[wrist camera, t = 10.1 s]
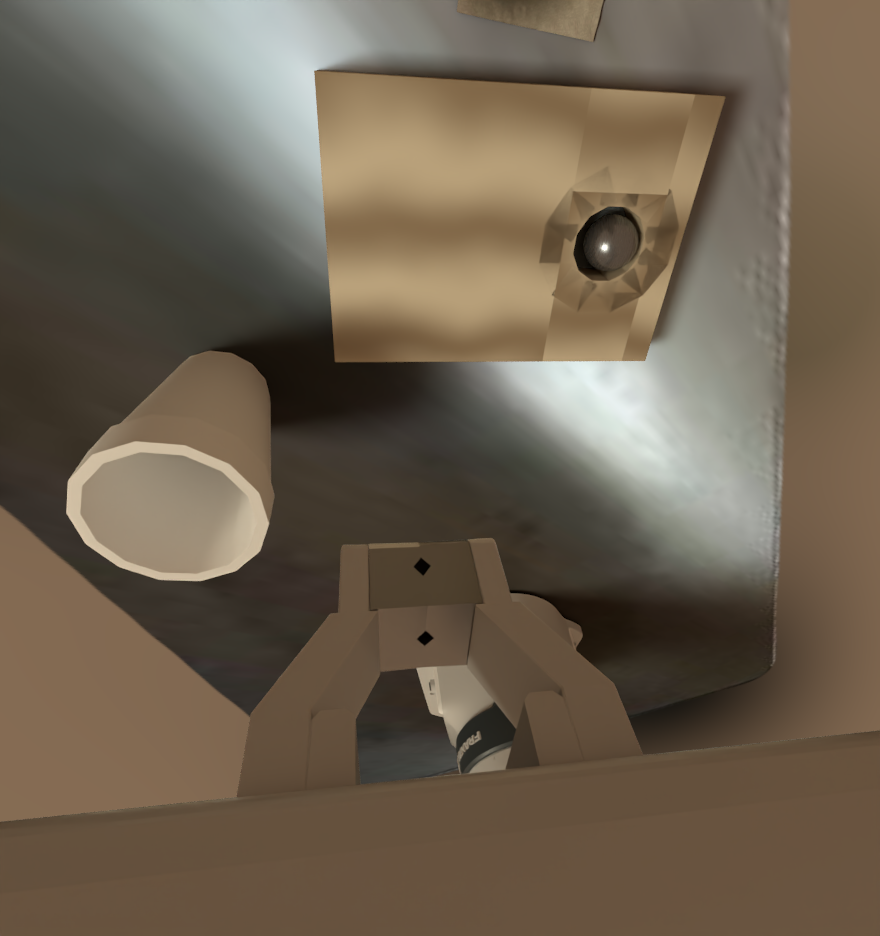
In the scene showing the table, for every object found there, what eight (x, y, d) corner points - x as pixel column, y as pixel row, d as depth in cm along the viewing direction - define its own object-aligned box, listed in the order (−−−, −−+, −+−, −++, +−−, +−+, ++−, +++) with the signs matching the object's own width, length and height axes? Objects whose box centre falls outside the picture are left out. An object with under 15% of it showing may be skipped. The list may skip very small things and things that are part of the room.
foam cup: (157, 441, 39) (85, 577, 29) (139, 320, 34) (42, 434, 24) (291, 452, 41) (269, 583, 31) (294, 338, 36) (268, 451, 25)
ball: (573, 256, 35) (620, 264, 35) (581, 274, 33) (632, 282, 33) (588, 204, 33) (639, 212, 33) (598, 219, 30) (653, 228, 31)
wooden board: (630, 345, 39) (645, 360, 37) (336, 345, 36) (335, 362, 34) (701, 94, 30) (725, 96, 28) (317, 70, 27) (314, 71, 25)
